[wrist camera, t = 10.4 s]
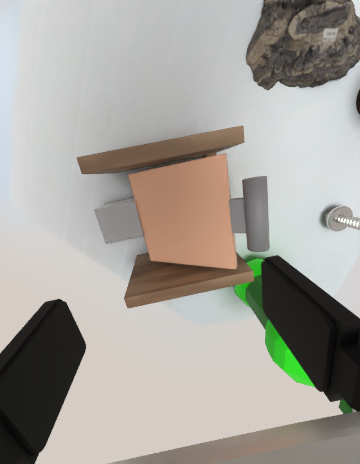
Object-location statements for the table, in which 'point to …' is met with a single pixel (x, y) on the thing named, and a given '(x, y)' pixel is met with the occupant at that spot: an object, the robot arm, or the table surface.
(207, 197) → the trapdoor
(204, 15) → the table surface
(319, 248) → the table surface
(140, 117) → the table surface
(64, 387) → the robot arm
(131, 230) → the grey cube
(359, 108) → the coffee mug
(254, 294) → the plastic bottle
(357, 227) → the screw
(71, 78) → the table surface
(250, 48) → the rock specimen
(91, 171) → the wooden bench
